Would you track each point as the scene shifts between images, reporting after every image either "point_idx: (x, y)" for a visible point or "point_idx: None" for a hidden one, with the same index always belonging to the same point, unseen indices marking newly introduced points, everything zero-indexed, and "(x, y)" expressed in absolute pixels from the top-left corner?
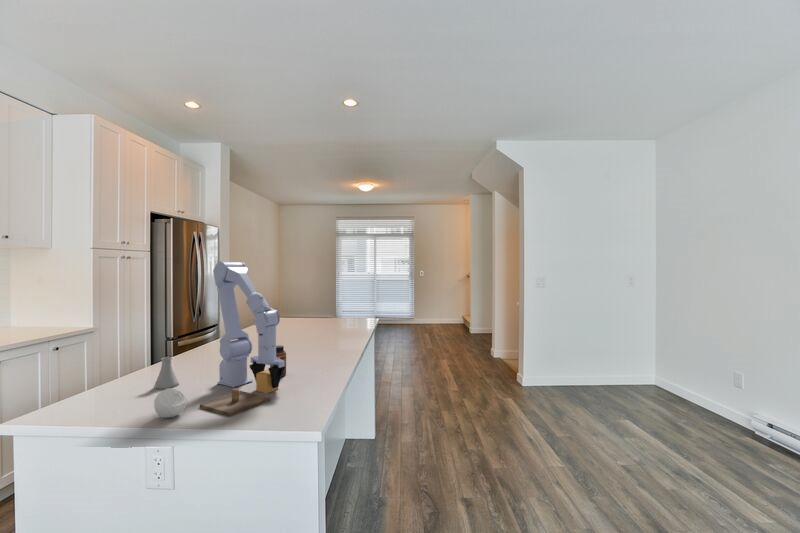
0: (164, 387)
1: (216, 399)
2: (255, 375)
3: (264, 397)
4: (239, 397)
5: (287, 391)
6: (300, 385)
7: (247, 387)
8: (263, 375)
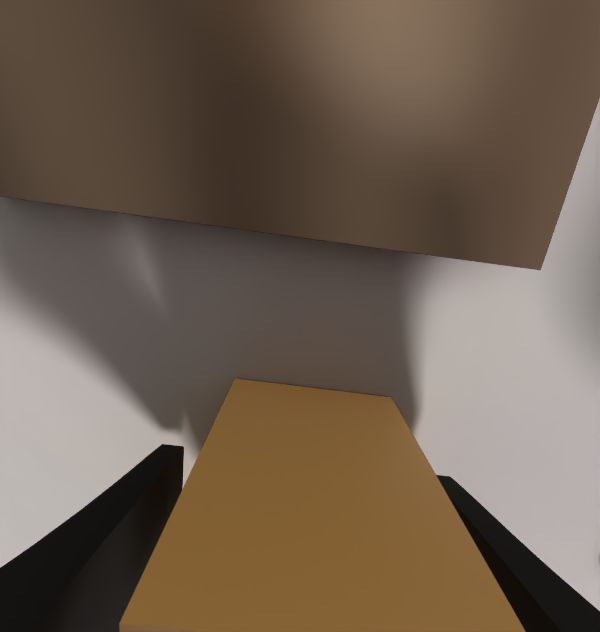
0: None
1: None
2: (550, 603)
3: (27, 168)
4: (354, 16)
5: (91, 481)
6: None
7: (555, 447)
8: (255, 602)
